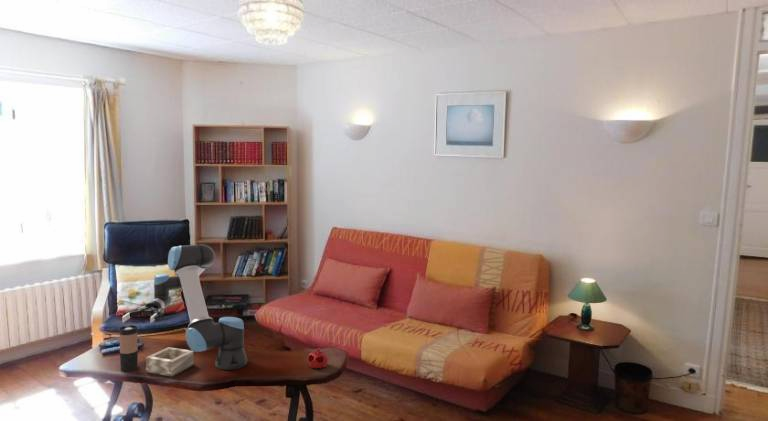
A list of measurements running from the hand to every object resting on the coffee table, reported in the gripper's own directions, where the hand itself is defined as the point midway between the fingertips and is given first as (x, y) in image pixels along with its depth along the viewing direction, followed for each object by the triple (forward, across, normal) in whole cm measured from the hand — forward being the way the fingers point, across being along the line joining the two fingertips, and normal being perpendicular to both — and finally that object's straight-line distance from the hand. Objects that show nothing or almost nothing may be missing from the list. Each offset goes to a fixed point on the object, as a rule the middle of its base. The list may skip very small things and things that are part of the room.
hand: (136, 319), depth 251 cm
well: (+10, -20, -20) cm, 30 cm away
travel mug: (+10, 0, -21) cm, 23 cm away
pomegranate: (+6, -90, -20) cm, 93 cm away
